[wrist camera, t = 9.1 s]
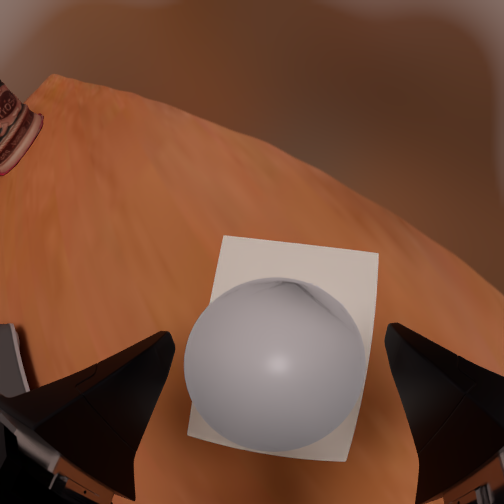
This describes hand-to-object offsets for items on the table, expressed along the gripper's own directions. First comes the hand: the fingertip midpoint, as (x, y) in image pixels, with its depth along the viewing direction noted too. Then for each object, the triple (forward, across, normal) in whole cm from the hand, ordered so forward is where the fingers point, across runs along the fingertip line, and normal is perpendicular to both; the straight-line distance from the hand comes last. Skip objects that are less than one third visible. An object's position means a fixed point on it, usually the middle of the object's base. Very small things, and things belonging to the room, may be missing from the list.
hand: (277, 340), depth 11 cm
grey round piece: (+6, 0, -7) cm, 9 cm away
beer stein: (+30, -50, +16) cm, 60 cm away
